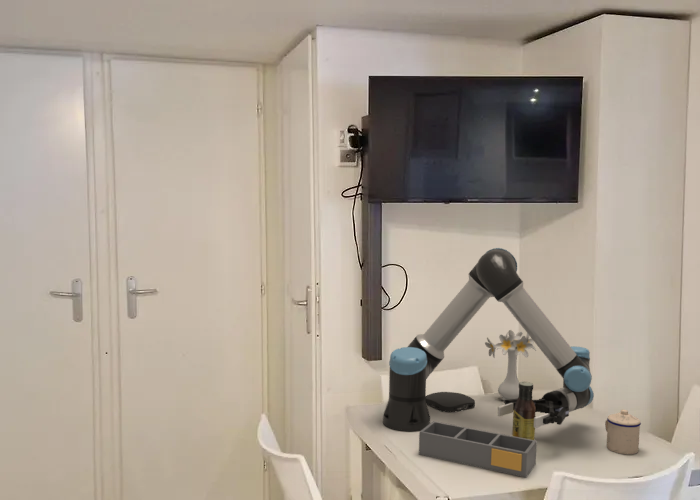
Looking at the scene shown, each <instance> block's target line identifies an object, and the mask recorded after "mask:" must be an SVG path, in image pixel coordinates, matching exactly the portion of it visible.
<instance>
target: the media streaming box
mask: <svg viewBox="0 0 700 500" xmlns="http://www.w3.org/2000/svg"><path fill="white" fill-rule="evenodd" d="M425 400H426V404H427V406H429V407H431V408H434V409H435V410H437V411H440V410H441V412H443V411H445V413H456V412H455V411H457V412H462V411H461V410H463V411H467V410H471V409H474V408H475V406H476V400H475V399H473V397H470V396H469V395H466V394H463V393H460V392H454V391H436V392H433V393H430V394H427V395H426V396H425Z"/></svg>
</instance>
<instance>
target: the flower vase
mask: <svg viewBox="0 0 700 500" xmlns="http://www.w3.org/2000/svg"><path fill="white" fill-rule="evenodd" d="M498 338H499V341H500V342H498V343H496V344H494V343H493V342H492V341H491V340H490V339H489V337H486V340H487V341H485V342H484V344H485V346H486V347H487V348H488V349H489V350H488V356H489V357H491V356H492V357H493V358H494V359H495V356H496V355H495V354H496V350H498V349H500V350H502V351H501V353H502V355H503V356H506V355H507V372H506V376H505V378H504V380H503V381H502V382H501V383H500V384H499V386H498V387H497V393H498V394H499V395H500V397H501V400H502V401H504V402H505V400H509V399H518V397H519V383H520V381H519V378H518V374H517V362H518V361H517V360H518V359H517V358H518V356H519V355H520V354H522V356H524V358H529V352H528V350H529V349H532V350H534V351H535V352H536V351H537V349H536V348H535V346H534V343H535V342H534V341H533V339H532V338H530V336H529V334H528V333H527V332H526V336H525V335H523V332H522V331H519V332H517V333H516V334H515V333H514V331H513V330H512V329H510V330H508V331H507V332H506V334H505V335H503V334H499V337H498Z"/></svg>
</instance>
